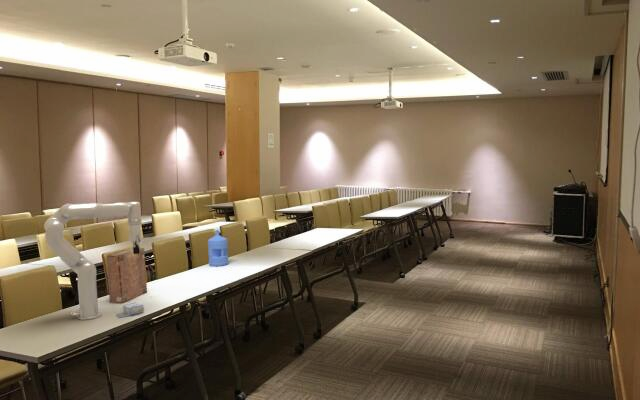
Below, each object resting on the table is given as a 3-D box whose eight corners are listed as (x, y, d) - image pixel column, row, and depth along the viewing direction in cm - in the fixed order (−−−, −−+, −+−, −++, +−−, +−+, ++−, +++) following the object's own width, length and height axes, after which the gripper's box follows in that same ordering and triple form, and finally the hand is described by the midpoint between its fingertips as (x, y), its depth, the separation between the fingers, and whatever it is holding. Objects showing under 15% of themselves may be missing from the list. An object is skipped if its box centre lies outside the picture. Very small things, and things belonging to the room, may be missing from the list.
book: (135, 292, 344) (132, 247, 341) (147, 292, 341) (144, 247, 339) (109, 302, 320) (106, 254, 317) (122, 303, 317) (119, 255, 315)
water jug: (205, 264, 424) (203, 230, 421) (221, 261, 434) (220, 228, 432) (215, 267, 412) (213, 232, 410) (232, 264, 423) (230, 230, 420)
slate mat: (118, 318, 288) (118, 317, 288) (115, 314, 294) (115, 314, 294) (140, 314, 294) (140, 313, 294) (137, 310, 301) (137, 310, 301)
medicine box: (135, 302, 302) (143, 304, 296) (135, 309, 302) (144, 312, 297) (122, 305, 296) (130, 307, 290) (123, 313, 296) (131, 315, 291)
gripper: (125, 222, 309) (127, 252, 311) (130, 224, 296) (132, 256, 298) (138, 221, 313) (140, 251, 314) (144, 223, 300) (146, 254, 302)
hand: (136, 253), depth 306 cm, fingers closed
